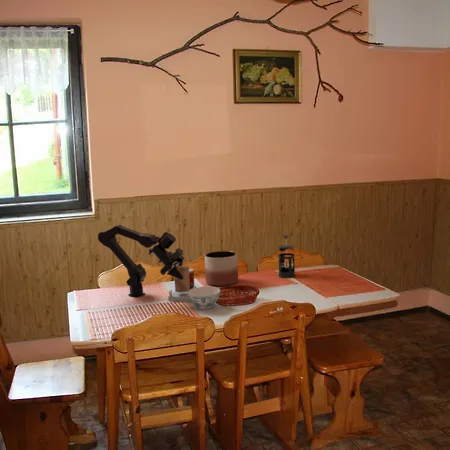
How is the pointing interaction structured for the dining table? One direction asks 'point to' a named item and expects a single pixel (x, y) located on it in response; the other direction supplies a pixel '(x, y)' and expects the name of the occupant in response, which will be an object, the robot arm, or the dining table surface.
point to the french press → (282, 270)
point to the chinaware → (204, 296)
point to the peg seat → (179, 296)
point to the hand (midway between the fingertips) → (184, 277)
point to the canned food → (191, 278)
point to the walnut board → (184, 283)
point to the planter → (221, 268)
